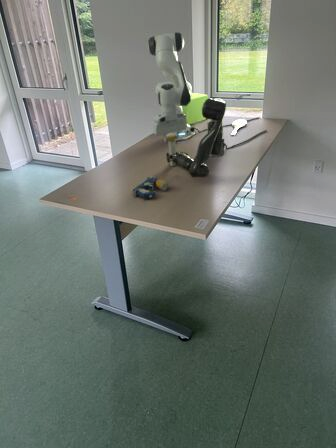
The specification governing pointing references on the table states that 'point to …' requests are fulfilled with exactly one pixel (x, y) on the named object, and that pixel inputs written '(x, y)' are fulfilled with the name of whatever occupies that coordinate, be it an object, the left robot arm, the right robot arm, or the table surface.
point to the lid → (171, 137)
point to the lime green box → (194, 108)
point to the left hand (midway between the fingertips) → (171, 139)
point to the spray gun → (149, 187)
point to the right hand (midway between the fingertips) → (170, 153)
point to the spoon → (238, 125)
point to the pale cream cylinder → (172, 150)
